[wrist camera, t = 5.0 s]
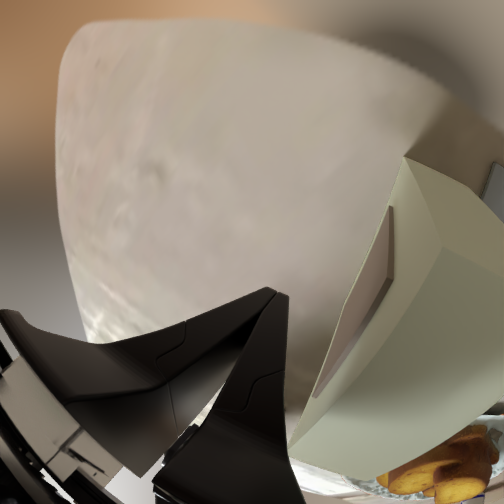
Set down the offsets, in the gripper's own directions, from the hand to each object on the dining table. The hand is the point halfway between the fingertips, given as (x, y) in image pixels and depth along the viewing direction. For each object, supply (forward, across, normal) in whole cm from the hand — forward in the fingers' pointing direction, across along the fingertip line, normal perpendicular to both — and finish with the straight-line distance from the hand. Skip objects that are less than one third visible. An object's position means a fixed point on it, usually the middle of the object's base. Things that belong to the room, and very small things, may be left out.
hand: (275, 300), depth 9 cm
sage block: (+8, -5, 0) cm, 9 cm away
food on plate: (+8, -25, +22) cm, 34 cm away
